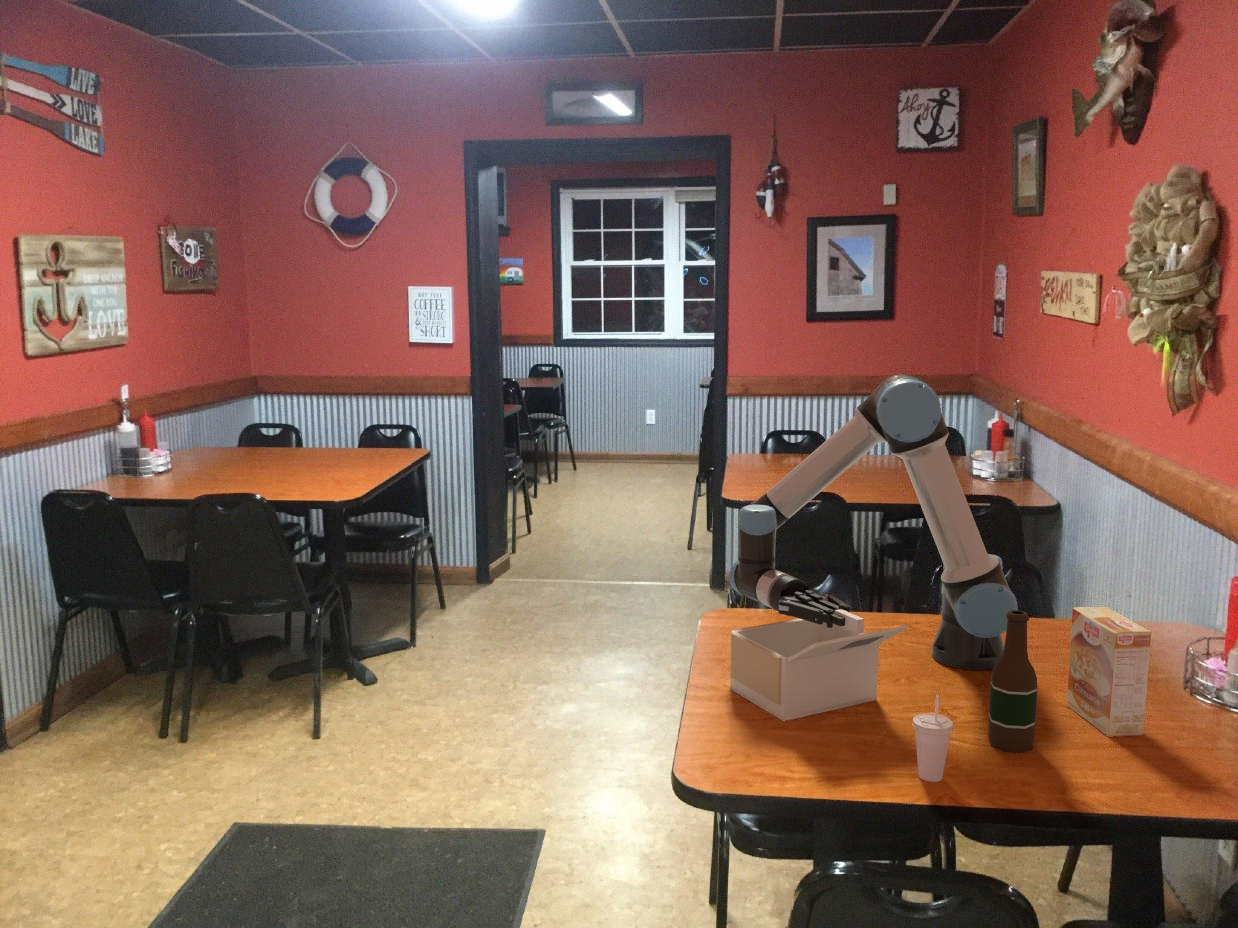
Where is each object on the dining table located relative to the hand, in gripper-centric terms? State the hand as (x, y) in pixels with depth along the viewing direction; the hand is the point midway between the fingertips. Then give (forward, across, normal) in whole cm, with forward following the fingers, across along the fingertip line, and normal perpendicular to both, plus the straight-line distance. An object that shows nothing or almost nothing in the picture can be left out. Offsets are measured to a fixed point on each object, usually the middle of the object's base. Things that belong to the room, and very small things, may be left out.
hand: (860, 626), depth 192 cm
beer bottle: (+18, -19, -19) cm, 33 cm away
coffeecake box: (+19, -42, -19) cm, 50 cm away
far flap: (-4, 0, -4) cm, 6 cm away
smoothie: (+22, +2, -19) cm, 29 cm away
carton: (-17, 0, -19) cm, 26 cm away
